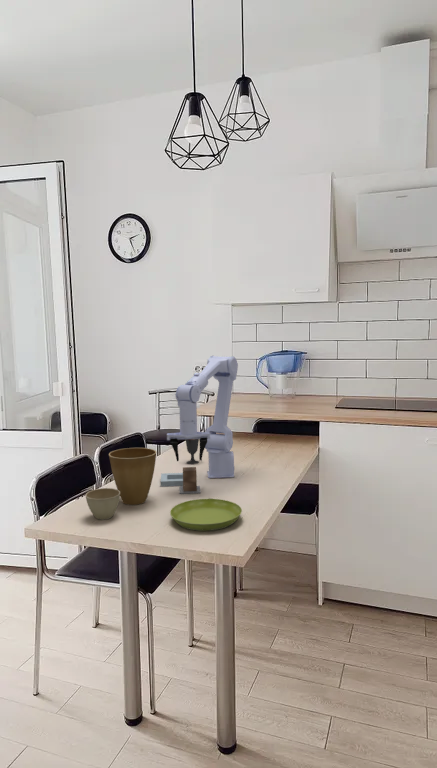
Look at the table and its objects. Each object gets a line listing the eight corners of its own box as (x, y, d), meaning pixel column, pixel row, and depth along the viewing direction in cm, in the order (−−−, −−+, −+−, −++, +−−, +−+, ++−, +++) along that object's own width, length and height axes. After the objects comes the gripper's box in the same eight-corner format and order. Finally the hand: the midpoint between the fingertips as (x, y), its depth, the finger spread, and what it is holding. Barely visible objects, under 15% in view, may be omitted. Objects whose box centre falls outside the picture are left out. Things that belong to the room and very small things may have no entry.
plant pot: (167, 500, 179) (166, 451, 177) (129, 512, 169) (127, 461, 167) (138, 490, 190) (137, 444, 188) (101, 501, 179) (99, 452, 177)
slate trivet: (199, 486, 193) (199, 485, 193) (200, 493, 186) (200, 492, 186) (179, 487, 193) (179, 486, 193) (179, 494, 186) (179, 492, 186)
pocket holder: (188, 477, 205) (188, 472, 205) (189, 485, 195) (189, 480, 195) (161, 478, 204) (161, 473, 204) (160, 486, 194) (160, 481, 194)
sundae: (181, 463, 223) (180, 427, 222) (188, 459, 230) (187, 423, 228) (196, 465, 221) (195, 428, 219) (203, 461, 227) (202, 424, 225)
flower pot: (80, 516, 166) (78, 493, 165) (108, 508, 173) (107, 486, 172) (98, 525, 159) (97, 501, 158) (127, 516, 166) (126, 493, 165)
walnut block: (196, 486, 192) (195, 466, 191) (196, 490, 188) (196, 470, 187) (183, 487, 192) (182, 467, 191) (183, 491, 187) (182, 471, 186)
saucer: (189, 505, 175) (189, 495, 175) (251, 513, 168) (251, 503, 167) (157, 528, 157) (157, 517, 156) (225, 539, 149) (225, 527, 148)
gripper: (166, 423, 182) (167, 464, 184) (210, 422, 183) (211, 462, 185) (166, 419, 189) (167, 458, 191) (209, 418, 190) (210, 457, 192)
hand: (189, 460), depth 189 cm, fingers open, 7 cm apart
